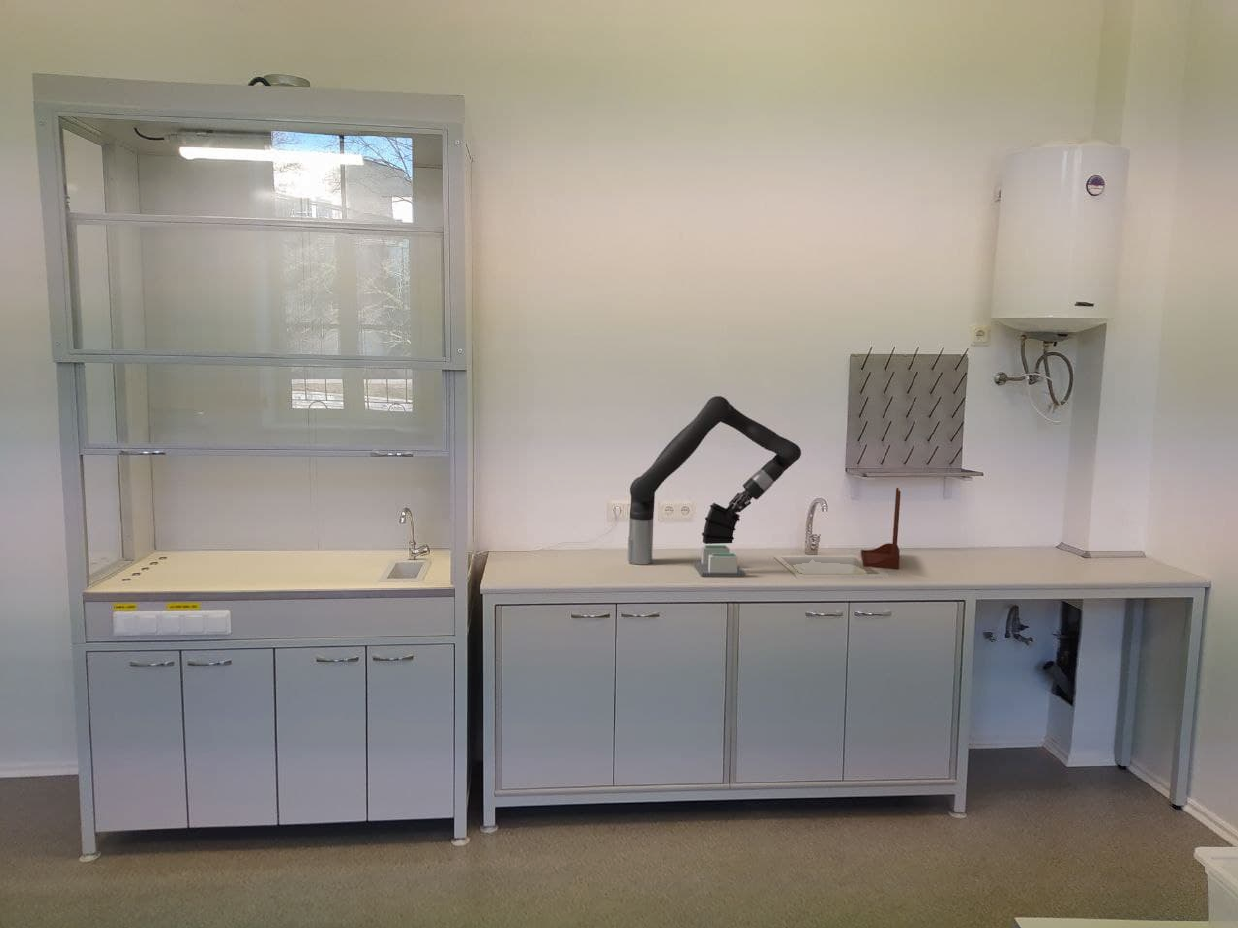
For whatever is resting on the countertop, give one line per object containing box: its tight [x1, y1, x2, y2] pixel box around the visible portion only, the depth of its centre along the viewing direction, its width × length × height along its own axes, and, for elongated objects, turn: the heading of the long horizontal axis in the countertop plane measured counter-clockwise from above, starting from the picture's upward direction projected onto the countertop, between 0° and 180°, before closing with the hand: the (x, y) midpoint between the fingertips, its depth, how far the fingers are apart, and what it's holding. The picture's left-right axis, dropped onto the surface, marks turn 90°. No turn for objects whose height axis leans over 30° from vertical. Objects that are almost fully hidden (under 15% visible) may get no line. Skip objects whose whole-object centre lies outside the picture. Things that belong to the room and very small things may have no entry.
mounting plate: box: [692, 544, 746, 578], centre depth 287 cm, size 16×17×8 cm
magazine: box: [701, 502, 741, 545], centre depth 286 cm, size 4×13×15 cm, turn 102°
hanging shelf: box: [860, 487, 901, 570], centre depth 310 cm, size 24×13×30 cm, turn 165°
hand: (725, 516), depth 286 cm, fingers closed on magazine, 4 cm apart
